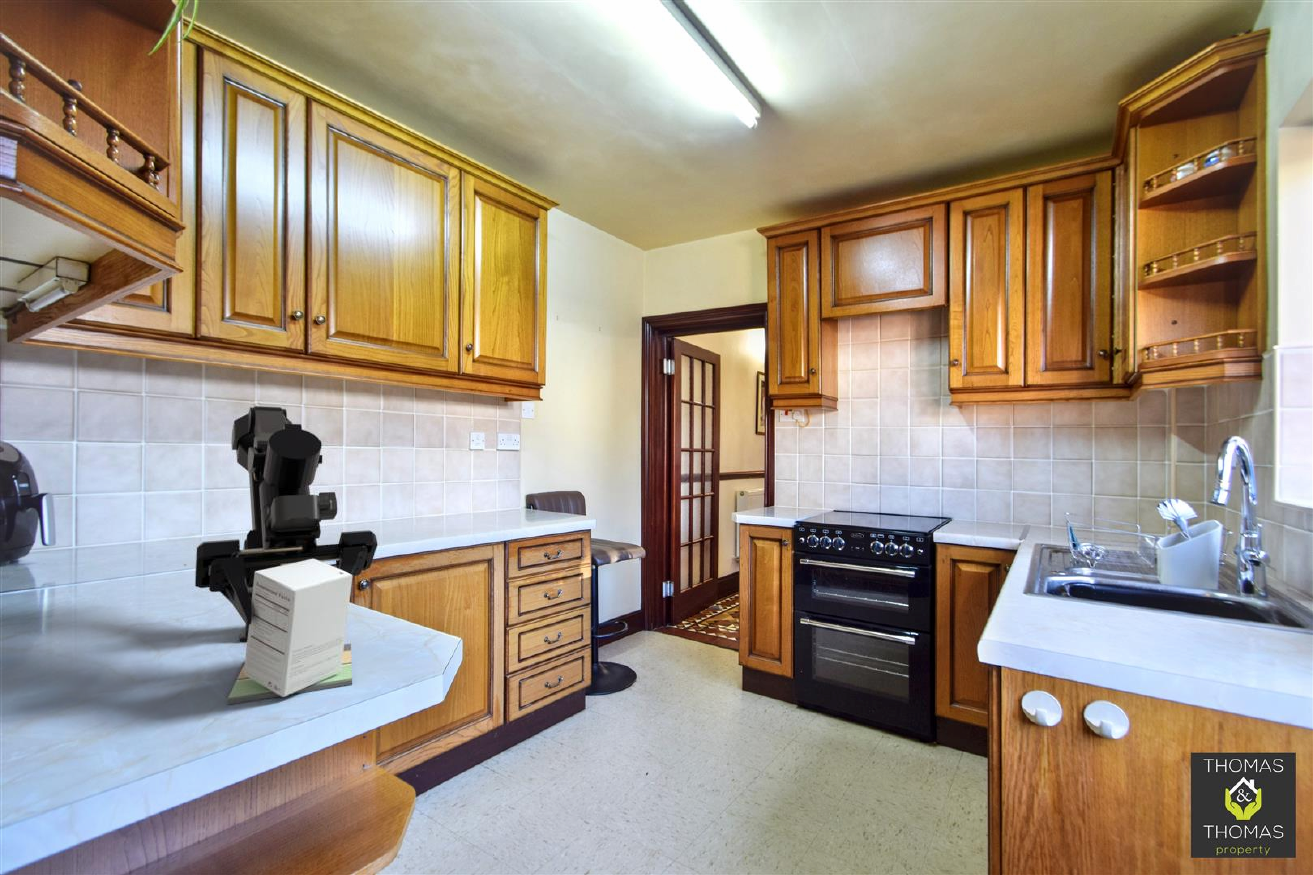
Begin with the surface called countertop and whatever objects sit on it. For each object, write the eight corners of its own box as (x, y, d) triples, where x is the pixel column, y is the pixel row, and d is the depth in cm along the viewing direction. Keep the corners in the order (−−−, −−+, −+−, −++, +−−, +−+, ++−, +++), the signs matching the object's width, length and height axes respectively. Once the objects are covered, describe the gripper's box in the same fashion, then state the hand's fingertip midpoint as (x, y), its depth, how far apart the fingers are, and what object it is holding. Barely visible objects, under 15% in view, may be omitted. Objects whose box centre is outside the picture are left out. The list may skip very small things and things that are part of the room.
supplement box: (303, 652, 73) (315, 556, 72) (342, 673, 70) (355, 573, 69) (240, 675, 66) (252, 569, 65) (281, 699, 63) (294, 589, 62)
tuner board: (247, 660, 76) (248, 656, 76) (350, 647, 81) (350, 642, 81) (227, 704, 63) (227, 698, 63) (351, 684, 68) (352, 679, 68)
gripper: (199, 471, 66) (197, 586, 57) (375, 470, 78) (397, 565, 69) (195, 532, 72) (194, 645, 63) (360, 522, 83) (378, 616, 75)
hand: (297, 615), depth 67 cm, fingers closed on supplement box, 9 cm apart
